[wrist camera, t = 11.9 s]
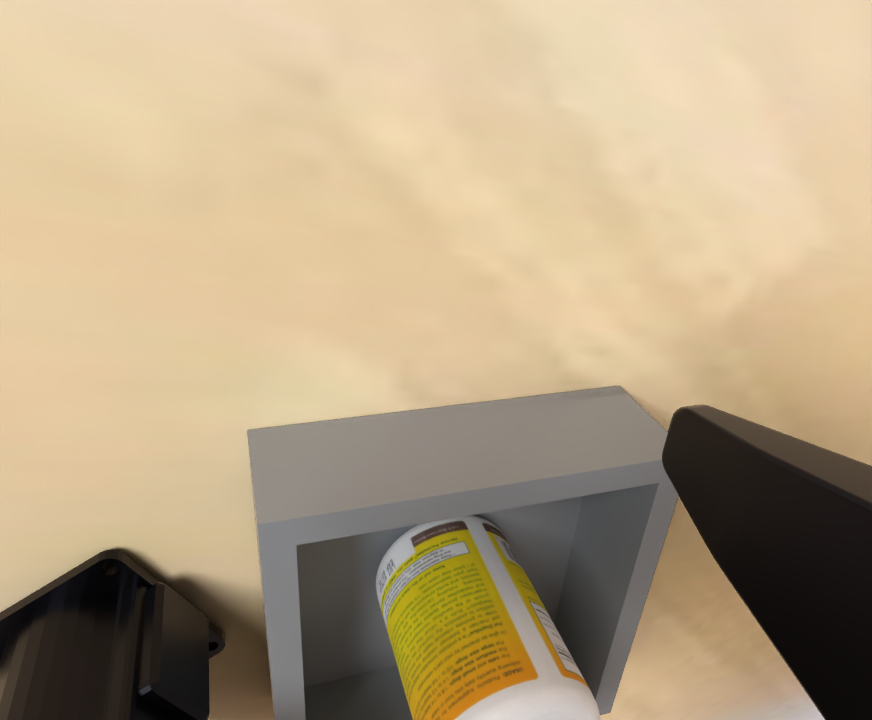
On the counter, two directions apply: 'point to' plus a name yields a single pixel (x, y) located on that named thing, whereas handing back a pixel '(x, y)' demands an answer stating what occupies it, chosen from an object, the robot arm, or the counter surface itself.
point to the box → (445, 499)
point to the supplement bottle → (474, 629)
